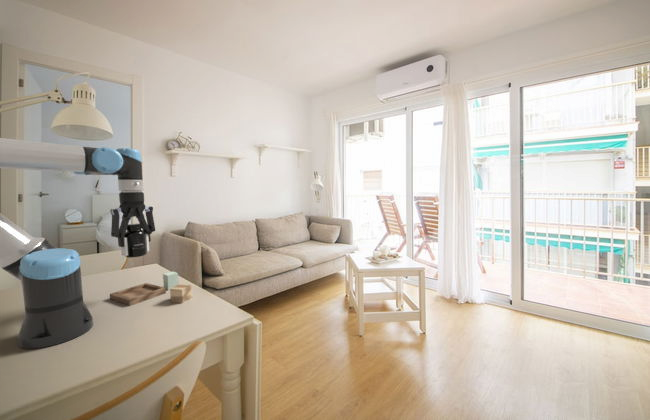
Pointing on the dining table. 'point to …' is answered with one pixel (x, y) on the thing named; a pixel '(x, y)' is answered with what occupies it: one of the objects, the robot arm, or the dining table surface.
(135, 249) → the supplement bottle
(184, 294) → the oak block
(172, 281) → the sage cube
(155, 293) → the walnut tray
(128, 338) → the dining table surface
